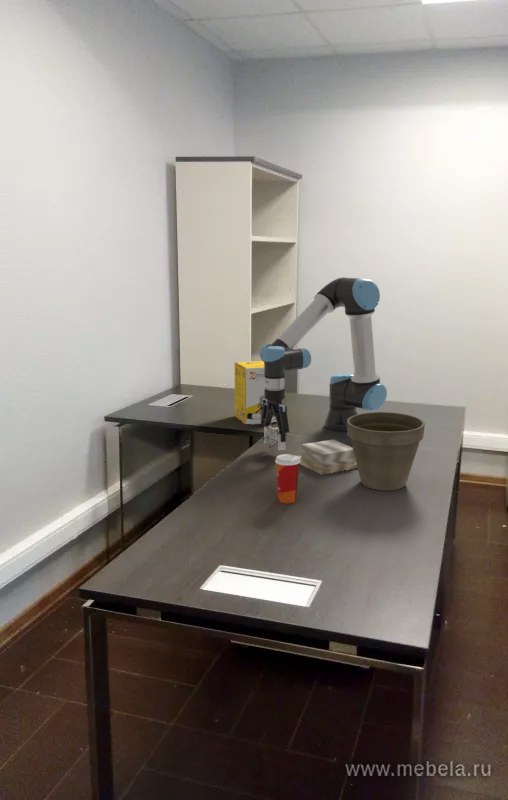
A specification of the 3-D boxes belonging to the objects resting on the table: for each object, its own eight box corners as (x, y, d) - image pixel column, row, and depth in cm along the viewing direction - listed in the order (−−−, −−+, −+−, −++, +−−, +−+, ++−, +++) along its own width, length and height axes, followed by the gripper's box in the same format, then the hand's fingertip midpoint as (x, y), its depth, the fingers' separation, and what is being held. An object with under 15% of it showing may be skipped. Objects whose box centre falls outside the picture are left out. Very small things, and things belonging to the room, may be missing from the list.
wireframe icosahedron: (278, 457, 266) (284, 441, 258) (257, 448, 266) (262, 432, 259) (286, 440, 271) (291, 424, 264) (265, 432, 272) (270, 416, 265)
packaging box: (268, 413, 328) (268, 360, 322) (280, 422, 313) (281, 366, 307) (234, 416, 323) (234, 362, 317) (245, 425, 308) (245, 368, 302)
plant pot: (370, 501, 218) (373, 434, 213) (331, 477, 240) (333, 415, 236) (436, 490, 228) (440, 425, 223) (392, 468, 250) (395, 408, 245)
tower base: (334, 454, 266) (334, 437, 265) (363, 467, 251) (364, 449, 250) (293, 460, 258) (293, 443, 257) (321, 475, 243) (321, 456, 241)
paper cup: (283, 494, 224) (283, 452, 221) (303, 499, 220) (304, 456, 217) (269, 501, 218) (269, 458, 215) (290, 506, 214) (291, 462, 211)
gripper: (251, 384, 269) (251, 440, 274) (281, 395, 250) (281, 455, 255) (268, 382, 272) (268, 437, 277) (299, 393, 253) (298, 452, 258)
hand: (274, 446), depth 266 cm, fingers closed on wireframe icosahedron, 10 cm apart
